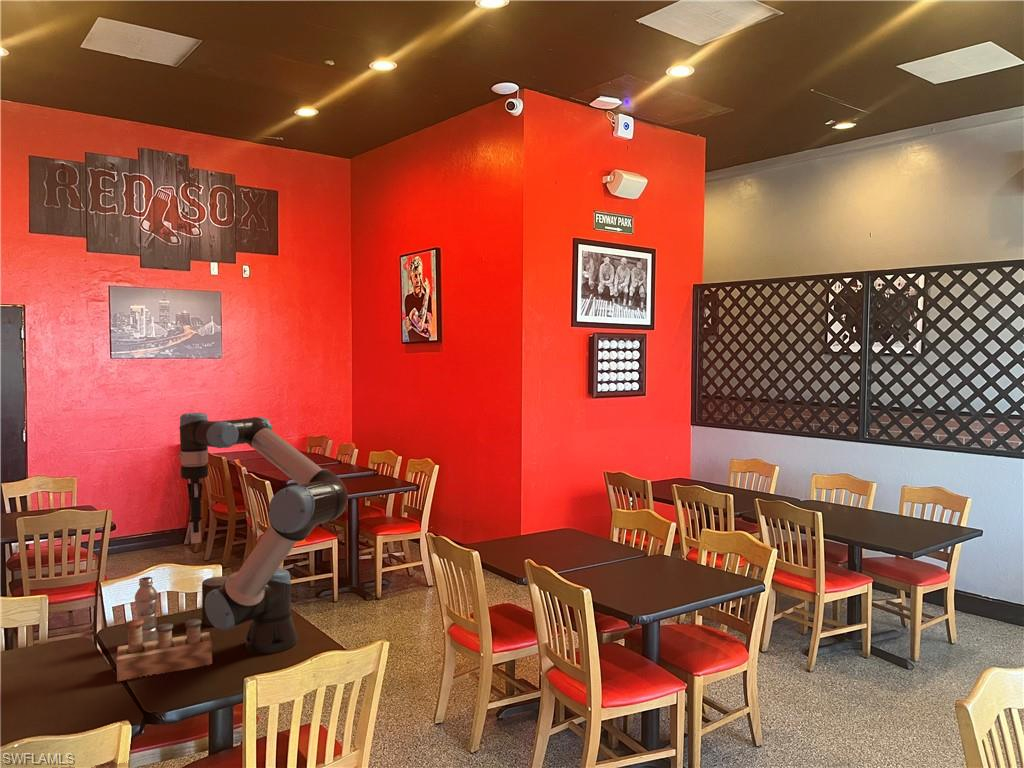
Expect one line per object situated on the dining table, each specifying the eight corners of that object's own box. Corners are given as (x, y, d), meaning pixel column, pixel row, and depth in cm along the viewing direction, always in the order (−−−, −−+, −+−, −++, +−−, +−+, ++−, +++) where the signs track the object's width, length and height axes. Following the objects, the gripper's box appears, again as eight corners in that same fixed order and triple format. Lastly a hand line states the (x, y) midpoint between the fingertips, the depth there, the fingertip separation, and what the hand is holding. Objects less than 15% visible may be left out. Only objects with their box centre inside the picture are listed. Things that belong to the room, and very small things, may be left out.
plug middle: (177, 661, 209) (176, 624, 209) (166, 667, 205) (165, 629, 204) (164, 659, 210) (163, 622, 210) (153, 665, 206) (152, 628, 205)
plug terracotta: (148, 657, 206) (147, 619, 205) (136, 663, 201) (135, 625, 201) (134, 655, 207) (133, 618, 206) (123, 662, 202) (122, 624, 202)
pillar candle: (197, 626, 237) (196, 581, 237) (209, 615, 247) (209, 572, 246) (226, 626, 237) (226, 581, 237) (237, 615, 247) (237, 572, 246)
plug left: (205, 656, 213) (204, 619, 212) (195, 662, 208) (194, 625, 208) (192, 654, 214) (191, 618, 213) (182, 660, 209) (181, 624, 209)
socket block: (209, 651, 217) (209, 631, 217) (212, 664, 209) (211, 643, 208) (118, 667, 207) (117, 646, 206) (117, 681, 198) (116, 659, 197)
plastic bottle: (134, 648, 220) (133, 583, 219) (136, 640, 226) (134, 577, 225) (158, 645, 222) (156, 580, 221) (159, 637, 229) (157, 574, 228)
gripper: (179, 462, 222) (181, 538, 223) (181, 468, 210) (183, 549, 211) (206, 460, 225) (207, 536, 226) (209, 466, 213) (211, 546, 214)
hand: (196, 542), depth 219 cm, fingers closed
